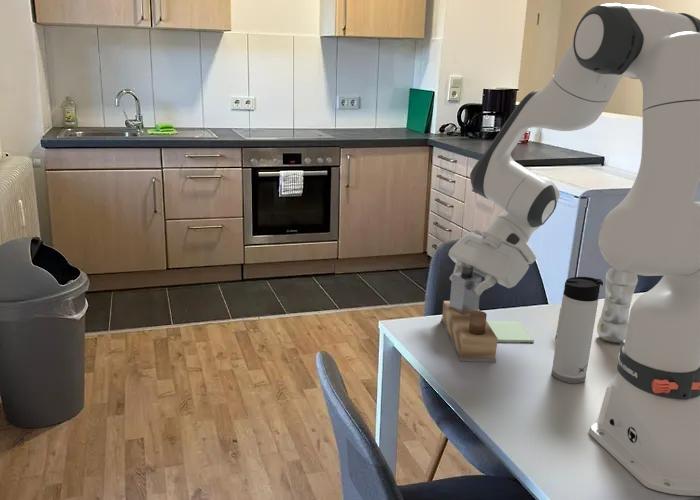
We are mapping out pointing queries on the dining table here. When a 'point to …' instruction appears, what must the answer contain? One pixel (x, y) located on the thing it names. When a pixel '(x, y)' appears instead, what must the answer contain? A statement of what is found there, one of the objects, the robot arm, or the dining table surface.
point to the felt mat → (510, 331)
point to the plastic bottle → (616, 305)
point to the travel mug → (576, 328)
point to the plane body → (470, 334)
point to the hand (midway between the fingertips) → (463, 286)
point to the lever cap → (464, 291)
